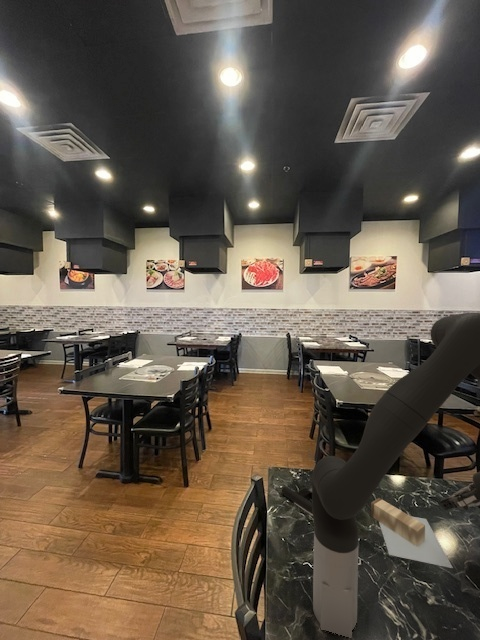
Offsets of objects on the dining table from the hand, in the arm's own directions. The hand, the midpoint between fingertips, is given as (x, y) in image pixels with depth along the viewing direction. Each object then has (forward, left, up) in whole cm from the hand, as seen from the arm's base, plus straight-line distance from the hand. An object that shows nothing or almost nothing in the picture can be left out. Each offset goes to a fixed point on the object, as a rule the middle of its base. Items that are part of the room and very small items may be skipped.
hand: (442, 505), depth 75 cm
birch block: (+3, +4, -12) cm, 13 cm away
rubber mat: (+6, +6, -15) cm, 17 cm away
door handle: (+15, +33, -15) cm, 39 cm away
